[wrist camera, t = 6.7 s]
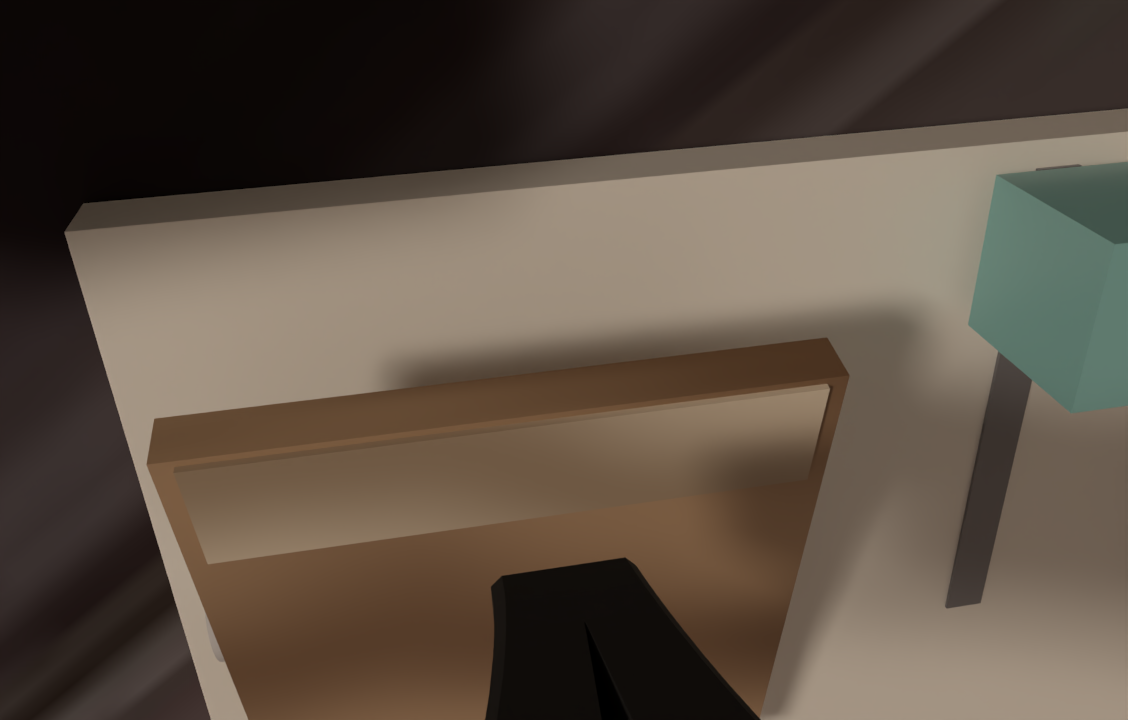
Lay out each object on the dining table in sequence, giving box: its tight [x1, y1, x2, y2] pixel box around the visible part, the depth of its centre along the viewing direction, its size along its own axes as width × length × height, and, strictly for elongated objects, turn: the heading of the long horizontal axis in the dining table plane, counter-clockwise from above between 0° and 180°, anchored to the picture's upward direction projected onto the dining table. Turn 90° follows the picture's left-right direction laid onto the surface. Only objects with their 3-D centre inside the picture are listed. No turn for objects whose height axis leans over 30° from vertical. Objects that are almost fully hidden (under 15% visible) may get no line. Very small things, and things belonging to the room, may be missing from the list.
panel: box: [64, 109, 1128, 720], centre depth 20 cm, size 16×26×3 cm, turn 92°
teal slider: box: [968, 162, 1128, 413], centre depth 16 cm, size 3×3×3 cm
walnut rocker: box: [146, 337, 850, 720], centre depth 17 cm, size 11×9×1 cm
